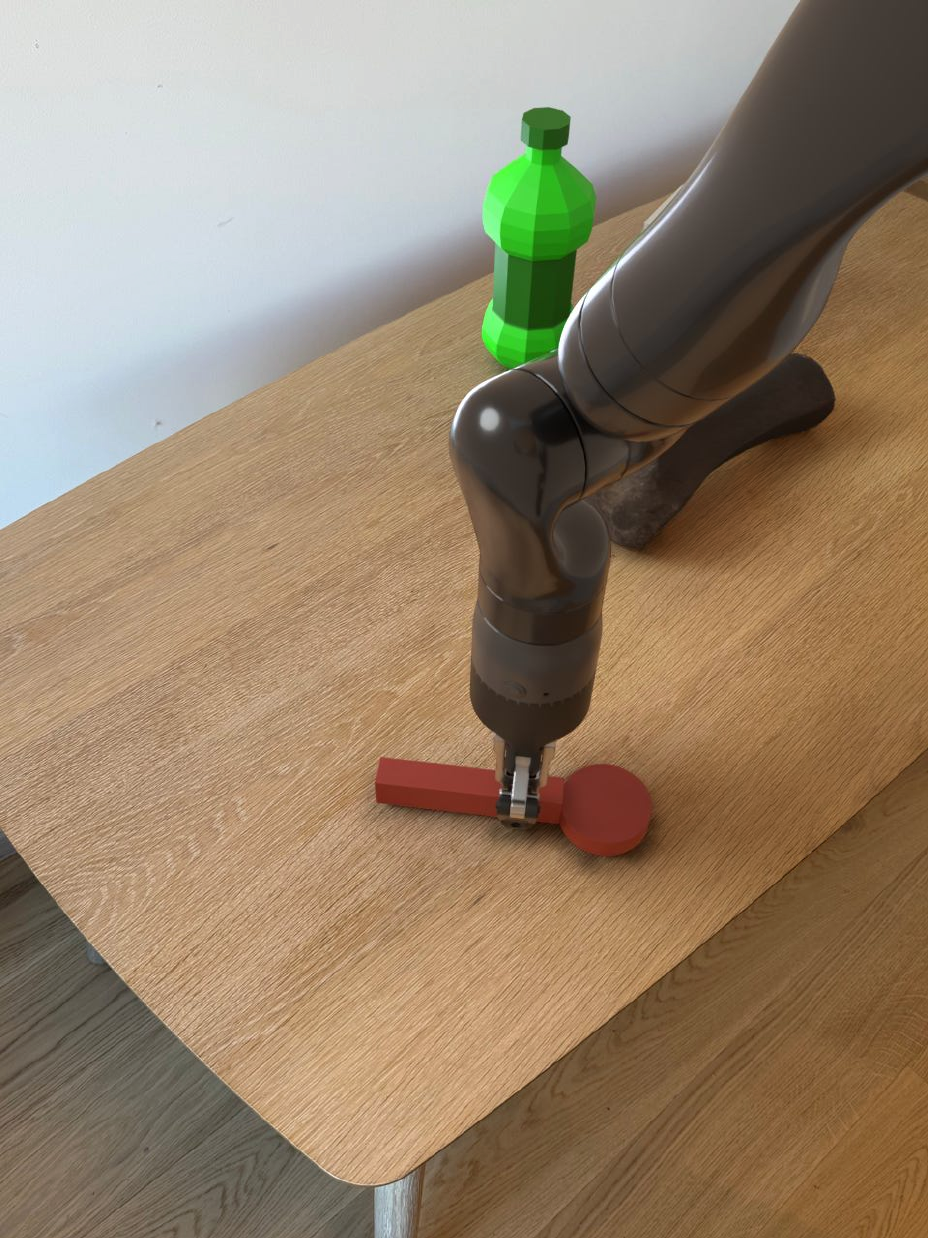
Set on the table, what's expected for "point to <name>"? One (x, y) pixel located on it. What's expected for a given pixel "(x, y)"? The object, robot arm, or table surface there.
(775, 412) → the dark brown bone
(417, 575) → the table surface
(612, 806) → the red flat paddle piece
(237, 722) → the table surface
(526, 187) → the plastic bottle
